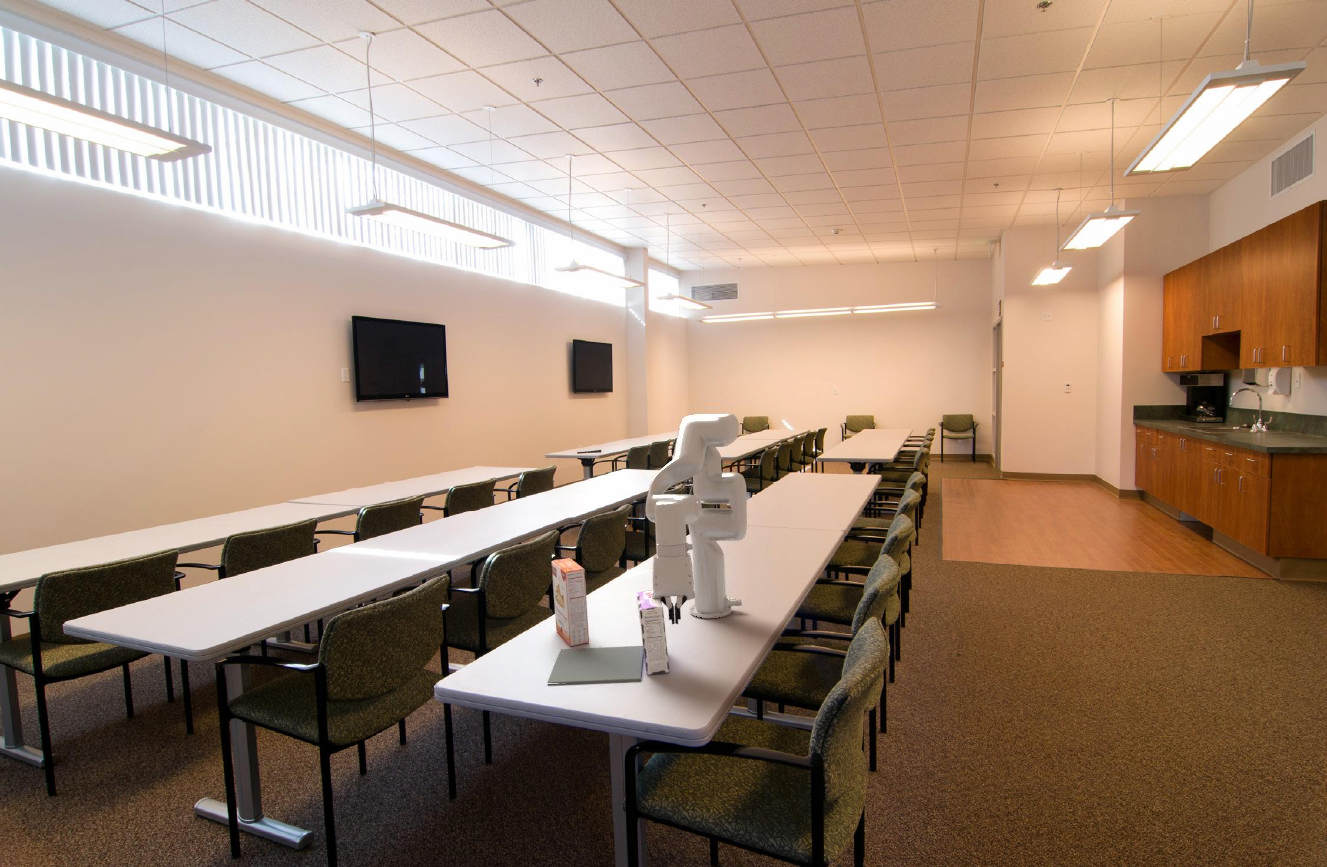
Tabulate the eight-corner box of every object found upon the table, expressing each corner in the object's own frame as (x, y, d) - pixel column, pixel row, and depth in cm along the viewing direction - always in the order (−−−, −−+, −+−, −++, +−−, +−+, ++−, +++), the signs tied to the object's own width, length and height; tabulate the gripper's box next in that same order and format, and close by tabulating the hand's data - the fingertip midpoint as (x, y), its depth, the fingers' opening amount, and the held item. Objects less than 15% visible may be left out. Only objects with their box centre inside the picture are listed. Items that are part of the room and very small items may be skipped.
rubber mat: (643, 648, 177) (643, 645, 177) (640, 681, 158) (640, 678, 157) (560, 651, 178) (560, 649, 178) (547, 685, 158) (547, 682, 158)
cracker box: (554, 631, 193) (550, 560, 191) (574, 627, 195) (571, 557, 194) (568, 648, 180) (564, 571, 179) (589, 643, 182) (585, 568, 181)
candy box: (643, 653, 174) (636, 591, 173) (665, 650, 175) (658, 588, 173) (646, 675, 160) (638, 608, 159) (670, 672, 161) (663, 605, 160)
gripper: (700, 544, 169) (703, 616, 170) (641, 547, 169) (645, 618, 170) (702, 552, 162) (706, 626, 163) (641, 554, 162) (644, 629, 163)
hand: (674, 622), depth 167 cm, fingers closed
